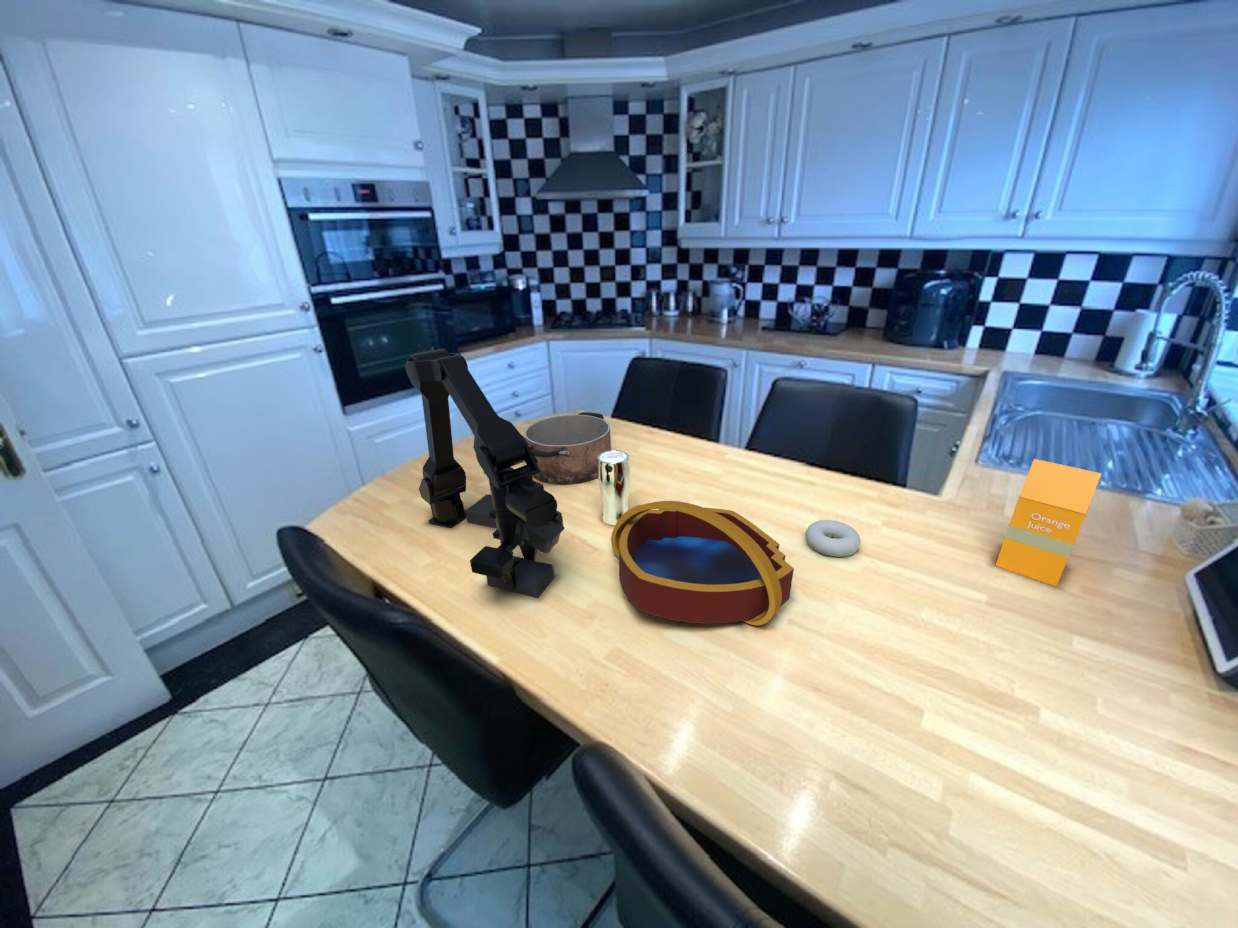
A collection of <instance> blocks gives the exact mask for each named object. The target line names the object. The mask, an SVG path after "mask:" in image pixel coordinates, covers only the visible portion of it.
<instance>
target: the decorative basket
mask: <svg viewBox="0 0 1238 928" xmlns="http://www.w3.org/2000/svg"><path fill="white" fill-rule="evenodd" d="M610 543H611V547H612V550H613V552H614V554H615V556H616V557H617V558H618V576H619V583H620V586H621V588H622V590H623V593H624V594H625V596H626V598H628V600H629V602H630V603H631V604H632V605H633V606H634V607H635V608H636V609H637V610H638V611H639V612H640V611H641V612H644V613H647V614H649V615H652V616H656V617H659V618H664V619H668V620H673V621H680V622H686V623H693V624H727V623H736V622H744V623H746V624H749V625H751V626H752V625H753V626H762V625H766V624H768V623H769V622H770V621H771V619H772V618H773V617H774V616H775V615H776V613H777V612H778V611H779V609H780V607H781V606H782V605H784V604H785V603H786V602H787V601H788V600H789V599H790V596H791V590H792V583H793V577H794V571H795V568H794V567H793V566H792V565H791V564H789V563H788V562H787V561H786V554H785V553H784V552H782V551H780V543H779V542H778V541H776V540H775V539H774V538H773V537H772V536H770V535H769V534H767V533H766V532H765V531H764V530H762V529H761V528H759V527H758V526H757V525H756V524H754V523H753V522H751V521H750V520H748V519H747V518H746V517H744V516H743V515H741V514H739V513H738V512H736V511H734V510H731V509H725V508H724V509H723V508H716V507H715V508H714V507H705V506H701V505H697V504H693V503H690V502H684V501H680V500H679V501H678V500H677V501H676V500H659V501H652V502H648V503H644V504H639V505H636V506H634V507H632V508H629V510H628V511H627V512H625V513H624V514H623V515H622V516H621V517H620V519H619V520H618V521H617V523H616V525H614V527H613V529H612V531H611V537H610Z"/></svg>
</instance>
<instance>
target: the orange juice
mask: <svg viewBox="0 0 1238 928" xmlns="http://www.w3.org/2000/svg"><path fill="white" fill-rule="evenodd" d="M1028 470H1029V471H1028V473H1027V475H1026V477H1025V480H1024V483H1023V486H1022V488H1021V491H1020V493H1019V494H1018V497H1017V500H1016V504H1015V507H1014V510H1013V513H1012V516H1011V519H1010V522H1009V524H1008V527H1007V530H1006V532H1005V535H1004V539H1003V541H1002V545H1001V548H1000V551H999V555H998V557H997V560H996V562H995V567H998V568H1001V569H1004V570H1007V571H1010V572H1012V573H1016V574H1018V575H1021V576H1024V577H1027V578H1030V579H1033V580H1036V581H1039V582H1040V583H1041V582H1042V583H1045V584H1047V585H1050V586H1054V587H1057V586H1058V583H1059V582H1060V579H1061V576H1062V574H1063V572H1064V569H1065V566H1066V565H1067V562H1068V560H1069V558H1070V556H1071V553H1072V550H1073V548H1074V546H1075V543H1076V540H1077V537H1078V536H1079V534H1080V531H1081V528H1082V526H1083V523H1084V522H1085V518H1086V516H1087V513H1088V510H1089V508H1090V505H1091V501H1092V499H1093V496H1094V495H1095V492H1096V489H1097V487H1098V484H1099V482H1100V479H1101V476H1102V473H1101V472H1098V471H1097V472H1096V471H1093V470H1087V469H1083V468H1078V467H1074V466H1069V465H1065V464H1060V463H1056V462H1051V461H1047V460H1042V459H1037V458H1034V459H1033V460H1032V463H1031V465H1030V468H1029V469H1028Z"/></svg>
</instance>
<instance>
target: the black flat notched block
mask: <svg viewBox="0 0 1238 928" xmlns="http://www.w3.org/2000/svg"><path fill="white" fill-rule="evenodd" d="M513 557H514V560H518V561H520V563H519V564H518V565H517V566H516V567H515V580H516V585H515V589H511V588H509V587H508V586H507V585H506V583H505V582H504V581H503V580H502V579H501V578H499V579H497V578H493V577H489V576H485V577H486V582H487V586H489V587H492V588H496V589H500V590H503V591H504V590H505V591H508V592H512V593H516V594H520V595H523V596H527V597H532V598H536V599H539V597H540V596H541V595H542V594H543V593H544V591H545V590H546V589H547V587H549V585H550V584H551V583H552V581H553V580H554V579H555V573H554V564H551V563H547V562H542V561H538V560H535V561H534V560H529V559H525V558H524V557H521V556H515V555H513Z"/></svg>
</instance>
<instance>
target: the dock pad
mask: <svg viewBox="0 0 1238 928" xmlns="http://www.w3.org/2000/svg"><path fill="white" fill-rule="evenodd" d="M493 509H494V508H493V502H492V496H491V494H485V495H483V496H482V497H481V498H480V499H478V501H476V502H474V503H473V504H472V505H470V507H468V508H467V509H465V510H464V511H465V513H466V517H465V518H466V522H467V523H469V524H474V525H478V526H482V527H483V526H484V527H489V528H493V529H497V525H496V519H493V518H490V516H489V512H490V511H492V510H493Z"/></svg>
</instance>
